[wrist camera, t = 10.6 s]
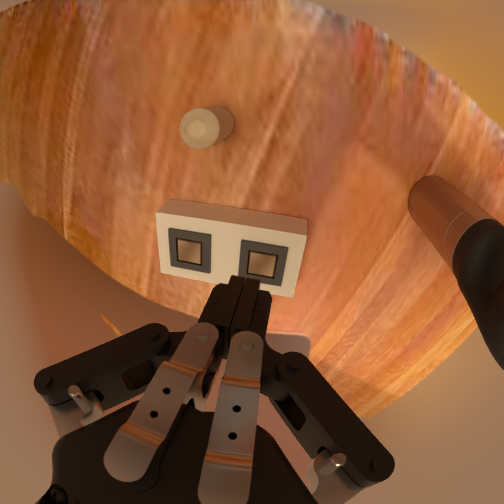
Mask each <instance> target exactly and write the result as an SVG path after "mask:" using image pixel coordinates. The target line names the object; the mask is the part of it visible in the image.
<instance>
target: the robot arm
mask: <svg viewBox="0 0 504 504" xmlns="http://www.w3.org/2000/svg"><path fill="white" fill-rule="evenodd" d="M408 207H409V212H410V214H411V216H412V218H413V219H414V220H415V222H416V223H417V224H418V225H419V227H420V228H421V229H422V231H423V232H424V233H425V235H426V236H427V237H428V238H429V240H430V241H431V243H432V244H433V245H434V247H435V248H436V249H437V251H438V252H439V254H440V255H441V256H442V258H443V259H444V261H445V262H446V263H447V265H448V266H449V268H450V269H451V271H452V272H453V274H454V275H455V277H456V279H457V282H458V285H459V288H460V290H461V292H462V293H463V295H464V297H465V299H466V301H467V303H468V305H469V307H470V309H471V311H472V313H473V315H474V318H475V320H476V322H477V325H478V327H479V329H480V332H481V334H482V336H483V338H484V341H485V343H486V345H487V347H488V348H489V350H490V352H491V354H492V355H493V357H494V359H495V360H496V362H497V363H498V364H499V366H500V367H501V368H502V369H503V370H504V226H503V225H502V224H500V223H499V222H498V221H497V220H496V219H495V218H494V217H492V216H491V215H490V214H489V213H488V212H486V211H485V210H484V209H483V208H481V207H480V206H479V205H478V204H476V203H475V202H474V201H472V200H471V199H470V198H468V197H467V196H466V195H464V194H463V193H462V192H460V191H459V190H458V189H456V188H455V187H454V186H452V185H451V184H449V183H448V182H446V181H445V180H443V179H442V178H440V177H437V176H427V177H424V178H422V179H421V180H419V181H418V182H417V183H416V184H415V185H414V187H413V188H412V190H411V192H410V195H409V200H408ZM260 284H261V280H259V279H253V278H248V277H247V278H246V277H241V276H236V275H231V277H230V280H229V282H228V284H224V283H219V284H218V285H217V286H215V287H214V288H213V290H212V292H211V294H210V297H209V298H208V301H207V303H206V305H205V307H204V309H203V312H202V314H201V316H200V318H199V321H198V323H196V324H194V325H192V326H191V327H190V328H189V329H188V331H184V332H169V331H168V329H167V328H166V327H165V326H164V325H162V324H158V323H151V324H148V325H145V326H143V327H141V328H139V329H136V330H134V331H132V332H129V333H127V334H125V335H123V336H120V337H118V338H116V339H113V340H111V341H109V342H106V343H104V344H102V345H99V346H97V347H95V348H93V349H90V350H88V351H85V352H83V353H81V354H79V355H76V356H74V357H71V358H69V359H67V360H64V361H62V362H59V363H57V364H54V365H52V366H49V367H47V368H45V369H42V370H41V371H39V372H38V373H37V375H36V376H35V379H34V387H35V389H36V390H37V392H38V393H39V394H40V395H41V396H42V397H43V399H44V400H45V402H46V403H47V404H48V405H49V408H50V411H51V414H52V417H53V420H54V422H55V425H56V428H57V431H58V433H59V436H60V439H59V440H58V441H57V443H56V444H55V446H54V449H53V453H52V465H53V474H52V483H51V486H50V488H49V489H48V491H47V492H46V493H45V495H43V496H42V497H41V498H40V499H39V500H38V501H37V502H36V503H35V504H344V503H345V502H347V501H348V500H350V499H351V498H352V497H354V496H355V495H356V494H357V493H359V492H360V491H361V490H363V489H365V488H368V487H370V486H372V485H375V484H377V483H379V482H382V481H384V480H386V479H387V478H388V477H390V475H391V474H392V473H393V470H394V467H395V463H394V458H393V456H392V455H391V454H390V453H389V452H388V450H387V449H386V448H385V447H384V446H383V445H382V444H381V443H380V442H379V441H378V439H377V438H376V437H375V436H374V435H373V434H372V433H371V431H370V430H369V429H368V428H367V427H366V426H365V425H364V424H363V422H362V421H361V420H360V419H359V418H358V417H357V416H356V414H355V413H354V412H353V411H352V410H351V409H350V408H349V406H348V405H347V404H346V403H345V402H344V401H343V399H342V398H341V397H340V396H339V395H338V394H337V392H336V391H335V390H334V389H333V388H332V387H331V385H330V384H329V383H328V382H327V381H326V380H325V378H324V377H323V376H322V375H321V374H320V372H319V371H318V370H317V369H316V368H315V367H314V365H313V364H312V363H311V362H310V361H309V359H308V358H307V357H306V356H304V355H303V354H301V353H298V352H287V353H284V354H280V353H278V352H276V351H274V350H273V349H271V348H270V347H269V346H268V344H267V343H266V340H265V336H266V331H267V325H268V320H269V314H270V308H271V302H272V297H271V295H270V292H269V291H265V290H260ZM222 359H227V362H226V367H225V372H224V376H223V377H222V380H221V384H220V388H219V393H218V398H217V403H216V408H215V412H204V409H205V404H206V401H207V398H208V396H209V394H210V391H211V389H212V387H213V384H214V382H215V380H216V377H217V375H218V372H219V367H220V364H221V361H222ZM143 392H144V394H143V396H142V397H141V399H140V400H138V401H135V402H132V403H130V404H128V405H126V406H124V407H122V408H121V409H119V410H117V411H115V412H113V413H111V414H109V415H107V416H105V417H103V415H104V411H105V410H107V409H109V408H112V407H114V406H116V405H118V404H120V403H122V402H125V401H127V400H129V399H131V398H133V397H135V396H137V395H139V394H141V393H143ZM260 393H262V394H264V395H266V396H268V397H269V400H270V402H271V403H272V405H273V406H274V408H275V409H276V411H277V412H278V413H279V415H280V416H281V418H282V419H283V421H284V422H285V423H286V425H287V426H288V428H289V429H290V430H291V432H292V433H293V435H294V436H295V437H296V439H297V440H298V441H299V443H300V444H301V445H302V447H303V448H304V449H305V451H306V452H307V453H308V455H309V456H310V457H311V459H312V460H311V461H310V462H309V464H308V466H307V470H306V472H307V476H308V478H309V480H310V483H311V488H310V491H309V490H308V489H307V487H306V486H305V484H304V483H303V482H302V480H301V479H300V477H299V476H298V474H297V473H296V471H295V470H294V468H293V467H292V466H291V464H290V462H289V461H288V459H287V458H286V456H285V455H284V453H283V452H282V450H281V448H280V447H279V445H278V444H277V442H276V441H275V439H274V438H273V437H272V436H271V435H270V434H269V433H268V432H267V431H266V430H265V429H263V428H262V427H260V426H258V425H257V415H258V404H259V395H260Z"/></svg>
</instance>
